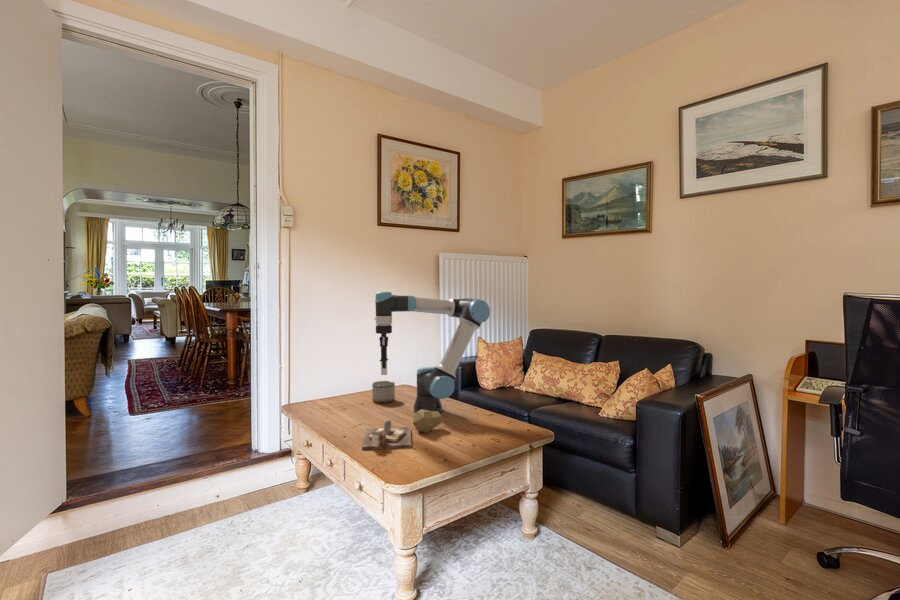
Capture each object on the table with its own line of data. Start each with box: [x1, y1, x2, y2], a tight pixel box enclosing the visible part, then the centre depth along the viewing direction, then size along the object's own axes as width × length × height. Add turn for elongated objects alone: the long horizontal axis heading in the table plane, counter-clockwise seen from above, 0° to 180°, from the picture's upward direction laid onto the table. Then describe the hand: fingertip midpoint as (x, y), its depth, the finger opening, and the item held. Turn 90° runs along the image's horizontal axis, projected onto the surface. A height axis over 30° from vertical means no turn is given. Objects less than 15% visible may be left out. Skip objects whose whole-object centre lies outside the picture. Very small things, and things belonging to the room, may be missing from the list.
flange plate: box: [369, 427, 406, 447], centre depth 185 cm, size 19×12×5 cm, turn 164°
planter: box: [371, 380, 396, 404], centre depth 250 cm, size 13×13×10 cm
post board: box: [361, 419, 412, 451], centre depth 189 cm, size 20×22×8 cm
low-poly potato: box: [412, 409, 443, 434], centre depth 200 cm, size 15×11×12 cm
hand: (384, 374), depth 206 cm, fingers closed
